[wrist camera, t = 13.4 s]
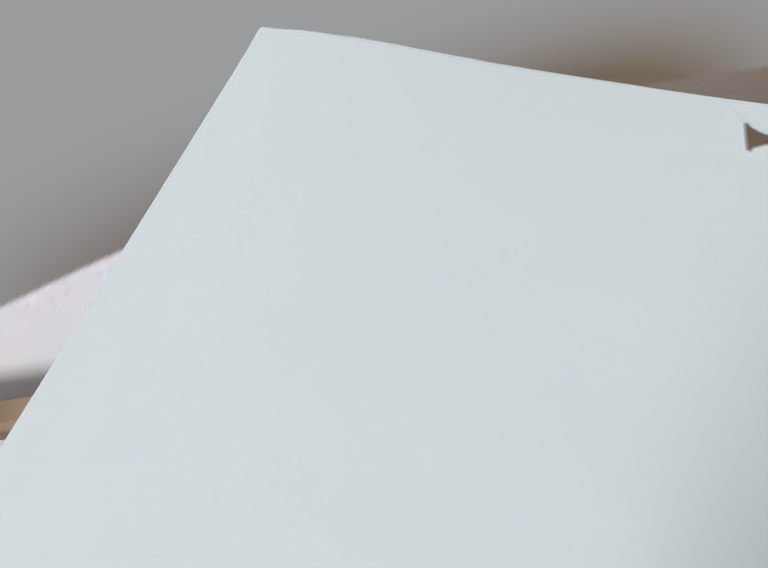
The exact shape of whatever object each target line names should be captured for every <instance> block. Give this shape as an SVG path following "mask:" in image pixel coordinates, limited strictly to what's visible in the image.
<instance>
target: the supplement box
mask: <svg viewBox="0 0 768 568" xmlns="http://www.w3.org/2000/svg"><path fill="white" fill-rule="evenodd" d="M0 568H768V104H762V103H755V102H748V101H740V100H733V99H726V98H719V97H712V96H705V95H698V94H691V93H684V92H677V91H670V90H664V89H657V88H650V87H644V86H637V85H631V84H624V83H617V82H611V81H604V80H597V79H590V78H585V77H578V76H571V75H565V74H558V73H552V72H546V71H540V70H534V69H528V68H522V67H515V66H510V65H504V64H498V63H491V62H486V61H481V60H477V59H472V58H466V57H460V56H454V55H449V54H444V53H439V52H434V51H428V50H423V49H417V48H412V47H406V46H402V45H397V44H391V43H386V42H380V41H375V40H369V39H363V38H358V37H351V36H343V35H336V34H328V33H320V32H312V31H304V30H287V29H279V28H270V27H262V28H260V29H259V30H258V32H257V34H256V36H255V37H254V39H253V41H252V43H251V44H250V46H249V48H248V50H247V51H246V53H245V55H244V56H243V58H242V60H241V61H240V63H239V64H238V66H237V67H236V69H235V71H234V72H233V74H232V76H231V77H230V79H229V80H228V82H227V84H226V85H225V87H224V89H223V90H222V92H221V94H220V95H219V97H218V98H217V100H216V102H215V103H214V105H213V106H212V108H211V110H210V111H209V113H208V115H207V116H206V118H205V119H204V121H203V122H202V124H201V126H200V127H199V129H198V131H197V132H196V134H195V135H194V137H193V139H192V140H191V142H190V144H189V145H188V147H187V148H186V150H185V151H184V153H183V155H182V156H181V158H180V159H179V161H178V163H177V164H176V166H175V167H174V169H173V171H172V172H171V174H170V175H169V177H168V179H167V180H166V182H165V183H164V185H163V187H162V188H161V190H160V192H159V193H158V195H157V196H156V198H155V199H154V201H153V203H152V204H151V206H150V208H149V209H148V211H147V212H146V214H145V216H144V217H143V219H142V220H141V222H140V224H139V225H138V227H137V228H136V230H135V232H134V233H133V235H132V237H131V238H130V240H129V241H128V243H127V244H126V246H125V248H124V249H123V251H122V253H121V254H120V256H119V257H118V259H117V261H116V262H115V264H114V265H113V267H112V269H111V270H110V272H109V274H108V275H107V277H106V278H105V280H104V282H103V283H102V285H101V286H100V288H99V290H98V291H97V293H96V295H95V296H94V298H93V299H92V301H91V303H90V304H89V306H88V307H87V309H86V311H85V312H84V314H83V316H82V317H81V319H80V320H79V322H78V324H77V325H76V327H75V329H74V330H73V332H72V333H71V335H70V337H69V338H68V340H67V341H66V343H65V345H64V346H63V348H62V350H61V351H60V353H59V354H58V356H57V358H56V359H55V361H54V362H53V364H52V366H51V367H50V369H49V370H48V372H47V374H46V375H45V377H44V378H43V380H42V382H41V383H40V385H39V386H38V388H37V390H36V391H35V393H34V394H33V396H32V398H31V399H30V401H29V402H28V404H27V406H26V407H25V409H24V410H23V412H22V414H21V415H20V417H19V418H18V420H17V422H16V423H15V425H14V426H13V428H12V430H11V431H10V433H9V434H8V436H7V438H6V439H5V441H4V442H3V444H2V446H1V447H0Z"/></svg>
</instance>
